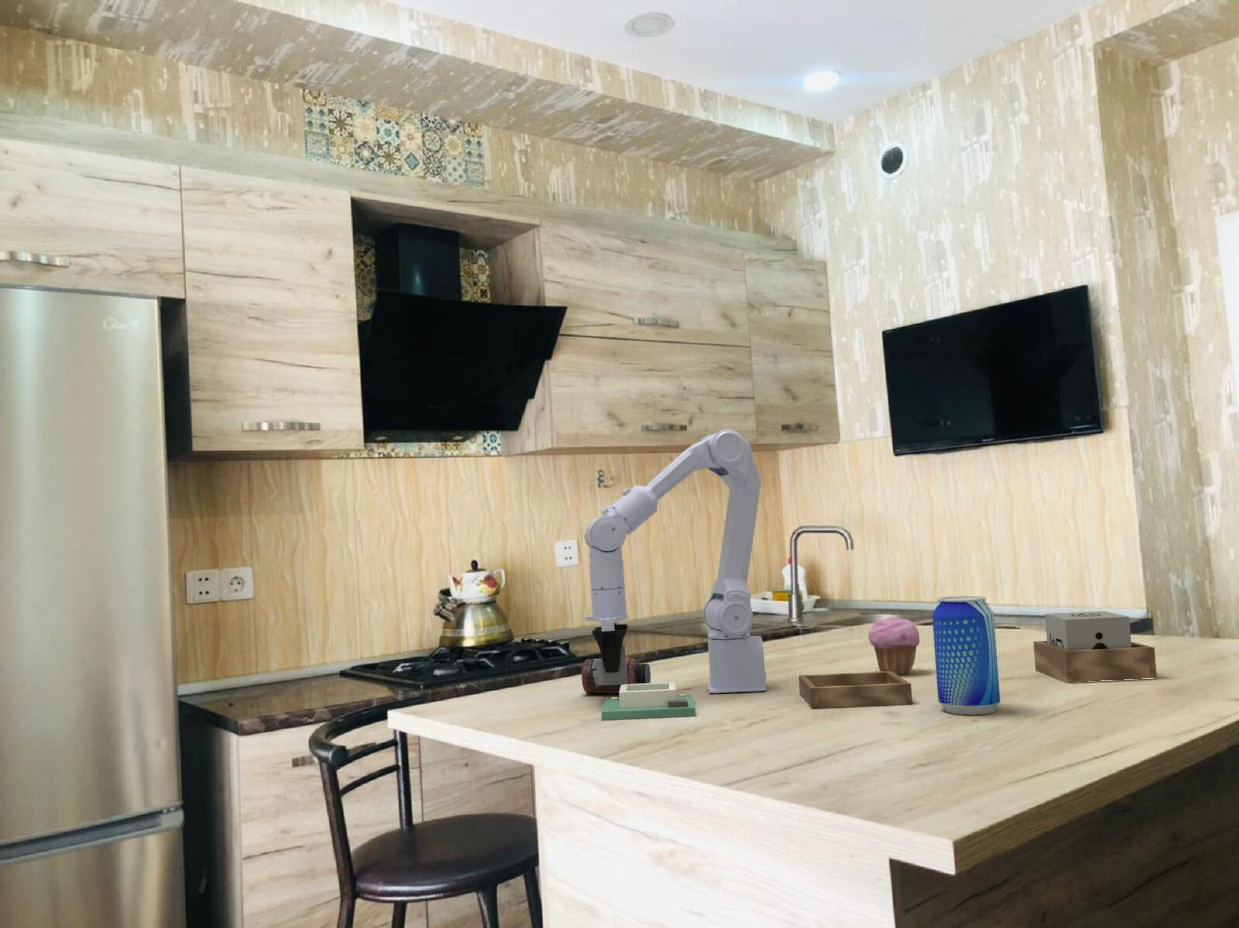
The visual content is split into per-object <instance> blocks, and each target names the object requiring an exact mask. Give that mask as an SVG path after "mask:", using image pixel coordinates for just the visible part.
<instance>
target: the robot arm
mask: <svg viewBox="0 0 1239 928" xmlns="http://www.w3.org/2000/svg"><path fill="white" fill-rule="evenodd" d="M706 469H707V470H709V471H710V472H713V473H714V474H716V475H717V476H718V477H719V478H720V479H721V481H723V483H724V484H725V485H726V486H727V487H728V489H729V492H728V499H727V500H728V501H727V507H726V512H725V522H724V529H723V533H722V540H721V541H722V543H721V551H720V554H719V555H720V556H719V561H718V562H719V563H718V571H717V572H718V573H717V576H716V579H715V582H713V584H712V587H711V589H710V595H709V598H708V600H707V601H706V603H705V604H704V607H703V610H702V618H703V621H704V624H705V625H706V626H707V628H708V629H709V631H708V633H707V647H708V648H707V649H708V665H709V683H706V684H707V689H708V692H709V694H722V693H723V694H725V693H743V692H744V693H745V692H766V690H767V686H766V685H767V684H766V683H767V682H766V680H767V672H766V667H765V653H764V643H763V638H762V636H761V635H753V636H752V635H751V632H750V629H751V628H752V625H753V623H754V612H753V610H752V607H751V606H752V605H751V597H752V594H751V590H750V588H749V583H748V577H749V571H750V564H751V557H752V550H753V543H754V535H755V529H756V528H755V527H756V521H757V515H758V514H757V513H758V506H759V499H760V493H761V485H762V481H761V476H760V474H759V471H758V468H757V466H756V462H755V459H754V458H753V455H752V446H751V444H750V443H749V442H748V440H747V439H745V437H744V436H743V435H742V434H741V433H740V432H738V431H736V430H734V429H730V428H729V429H728V428H727V429H722V430H720V431H718V432H716V433H711V434H707V435H706V436H705V435H704V436H703V437H702V438H701V439H700V440H699V441H698V442H695V443H694V444H692V445H690V446H689V447H688V448H686V449H685V450H684V451H683V452H681V453H680V454H679V455H678V456H677V457H676V458H675V459H673V461H672V462H670V463H669V464H668V465H667V466H666V467H665V468H664V469H663V470H661V471H660V472H659V473H658V474H657V475H656V476H655V477H654V478H653V479H652V480H650V482H649V483H648V484H646V486H642V485H633V487H631V488H630V487H626V488H625V489H624V490H622V492H621V493H622V496H621V497H620V498H619V499H618V500H616V501H615V502H614V503H613V504H612V505H611V506H609V507H604V508H602V510H601V513H602V514H603V515H601V516H600V517H596V518H594V519H592V520H591V521H590V522H589V523H588V524H587V526H586V530H585V534H584V535H583V538H584V540H585V543H586V545H587V546H588V547H589V548H588V549H589V550H588V551H589V553H588V554H589V565H588V567H589V579H590V580H589V582H590V597H591V599H590V600H591V611H592V612H591V613H592V615H586V616H585V621H586V622H587V621H592V622H594V623H598V624H601V626H596V627H594V629H592V630H591V633H592V636H593V637H594V640H595V641H596V644H597V646H598V649H599V652H600V657H601V656H602V661H603V665H604V669H605V671H606V673H615V672H618V671H619V666H620V656H621V647H622V644H624V638H625V635H626V633H627V629H628V627H629V625H628V623H618V622H623V621H625V620H628V618H629V615H628V613H627V602H626V601H627V600H626V587H625V586H626V585H625V571H624V560H623V551H622V550H623V547H622V546H623V545H624V543H625V541H626V537H627V535H628V536H630V535H632V533H633V532H635V531H636V530H637V529H639V527H641V525H643V524H644V523H645V522H646V521H647V520H649V518H651V517H652V516H653V515H654V514H656V512H657V511H658V504H659V500H660V499H661V498H663V497H664V496H665V495H666V494H668V493H669V492H670V491H672V489H674V488H675V487H677V485H679V484H680V483H681V482H682V481H684V480H685V479H686V478H687V477H688V476H690V475H691V474H692V473H694V472H698V471H701V470H706ZM617 623H618V624H617Z"/></svg>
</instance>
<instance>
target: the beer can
mask: <svg viewBox="0 0 1239 928" xmlns="http://www.w3.org/2000/svg"><path fill="white" fill-rule="evenodd" d="M986 600H987V598H986V597H985V596H981V595H953V596H951V595H950V596H942V597H938V598H937V601H938V602H937V605H936V607H935V608H934V610H933V612H932V615H931V618H932V630H933V632H932V633H933V644H934V645H933V647H934V658H935V659H934V661H935V673H936V674H935V675H936V686H937V687H936V688H937V701H938V703H939V704H940V705H941V707H942V708H943V710H944V711H945V712H946V711H947V712H946V713H949V714H954V715H962V714H965V715H966V714H967V715H966V716H968V714H969V716H970V715H971V714H972V715H971V716H976V715H975V714H980V715H987V714H992V713H994V712H995V711H996V709H997V707H998V705H999V704H1000V703H1001V695H1000V694H1001V693H1000V692H1001V691H1000V681H999V669H998V668H999V665H998V654H997V639H996V628H995V627H996V626H995V614H994V612H993V610H992V608H991V607H990V606H989V604H988V603H987V601H986ZM965 715H964V716H965Z"/></svg>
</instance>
